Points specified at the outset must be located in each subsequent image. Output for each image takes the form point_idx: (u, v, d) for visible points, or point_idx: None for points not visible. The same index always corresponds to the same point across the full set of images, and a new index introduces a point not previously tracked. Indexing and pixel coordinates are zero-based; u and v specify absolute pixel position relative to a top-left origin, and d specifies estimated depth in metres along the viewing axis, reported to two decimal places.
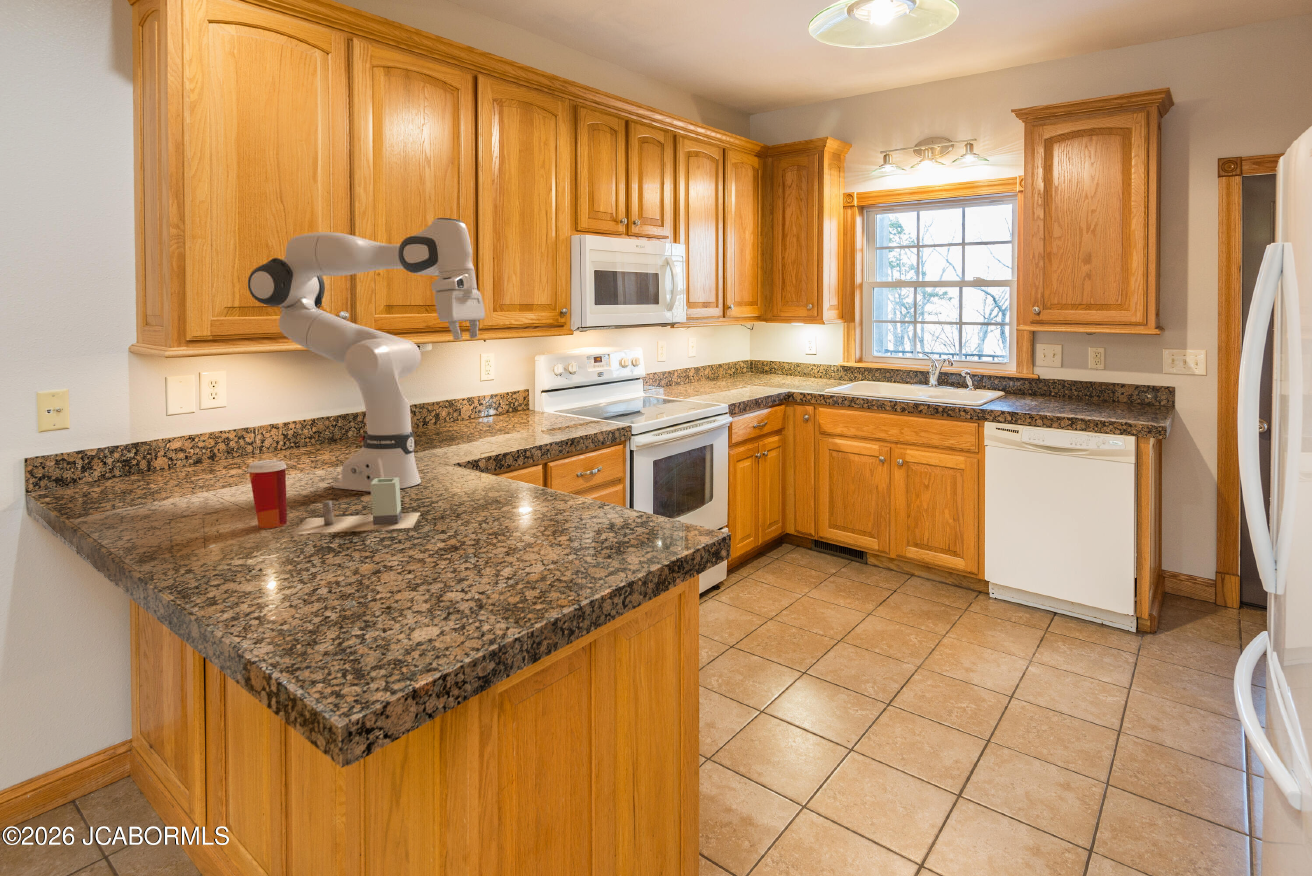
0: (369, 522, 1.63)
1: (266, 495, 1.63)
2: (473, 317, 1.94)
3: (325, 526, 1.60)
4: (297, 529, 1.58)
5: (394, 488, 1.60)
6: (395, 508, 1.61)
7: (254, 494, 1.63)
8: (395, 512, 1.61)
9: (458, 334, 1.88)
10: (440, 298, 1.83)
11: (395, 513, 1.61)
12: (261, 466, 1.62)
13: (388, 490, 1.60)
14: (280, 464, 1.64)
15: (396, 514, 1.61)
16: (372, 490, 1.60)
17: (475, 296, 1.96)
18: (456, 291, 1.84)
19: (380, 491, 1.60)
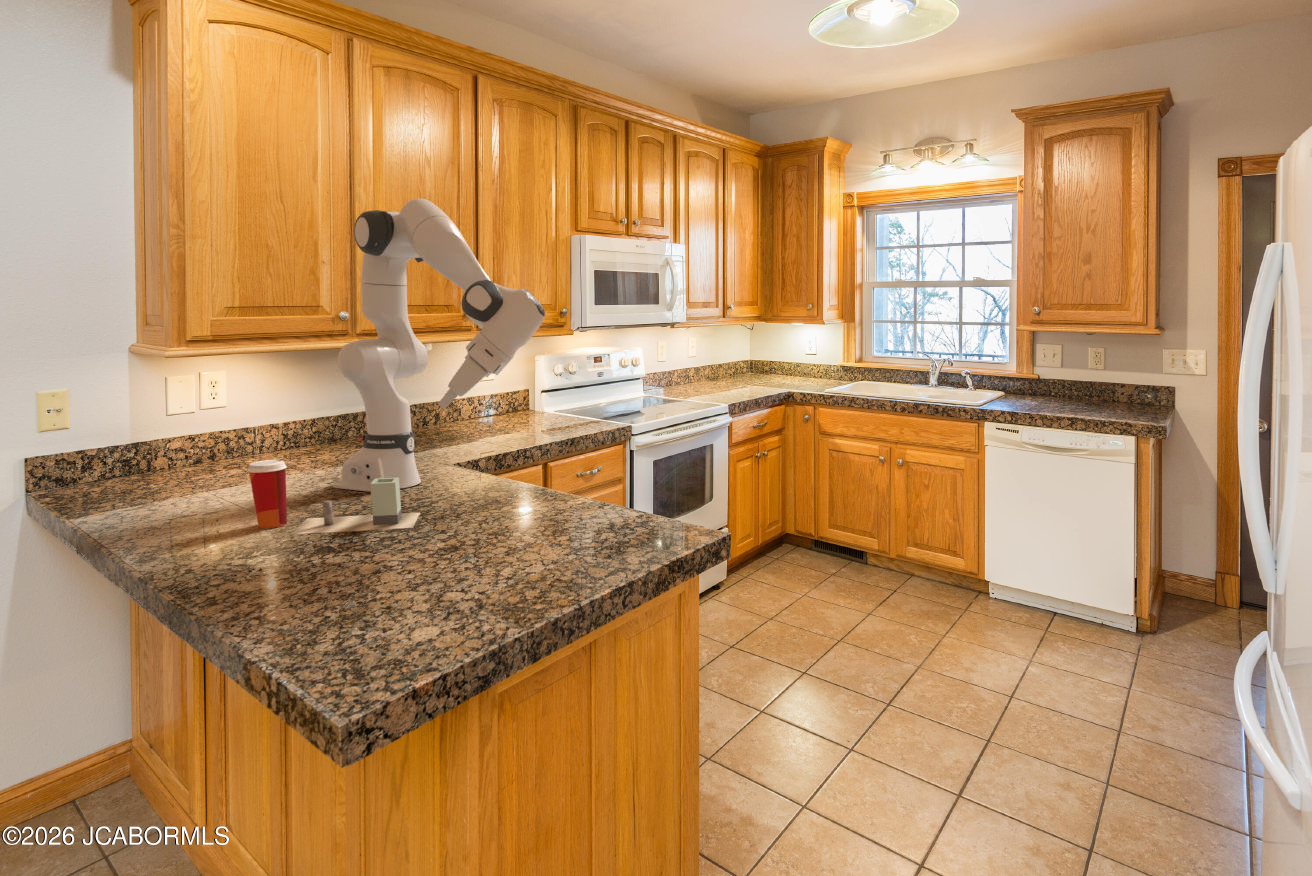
0: (369, 522, 1.63)
1: (266, 495, 1.63)
2: None
3: (325, 526, 1.60)
4: (297, 529, 1.58)
5: (394, 488, 1.60)
6: (395, 508, 1.61)
7: (254, 494, 1.63)
8: (395, 512, 1.61)
9: (447, 404, 1.57)
10: (469, 369, 1.53)
11: (395, 513, 1.61)
12: (261, 466, 1.62)
13: (388, 490, 1.60)
14: (280, 464, 1.64)
15: (396, 514, 1.61)
16: (372, 490, 1.60)
17: None
18: (487, 374, 1.56)
19: (380, 491, 1.60)
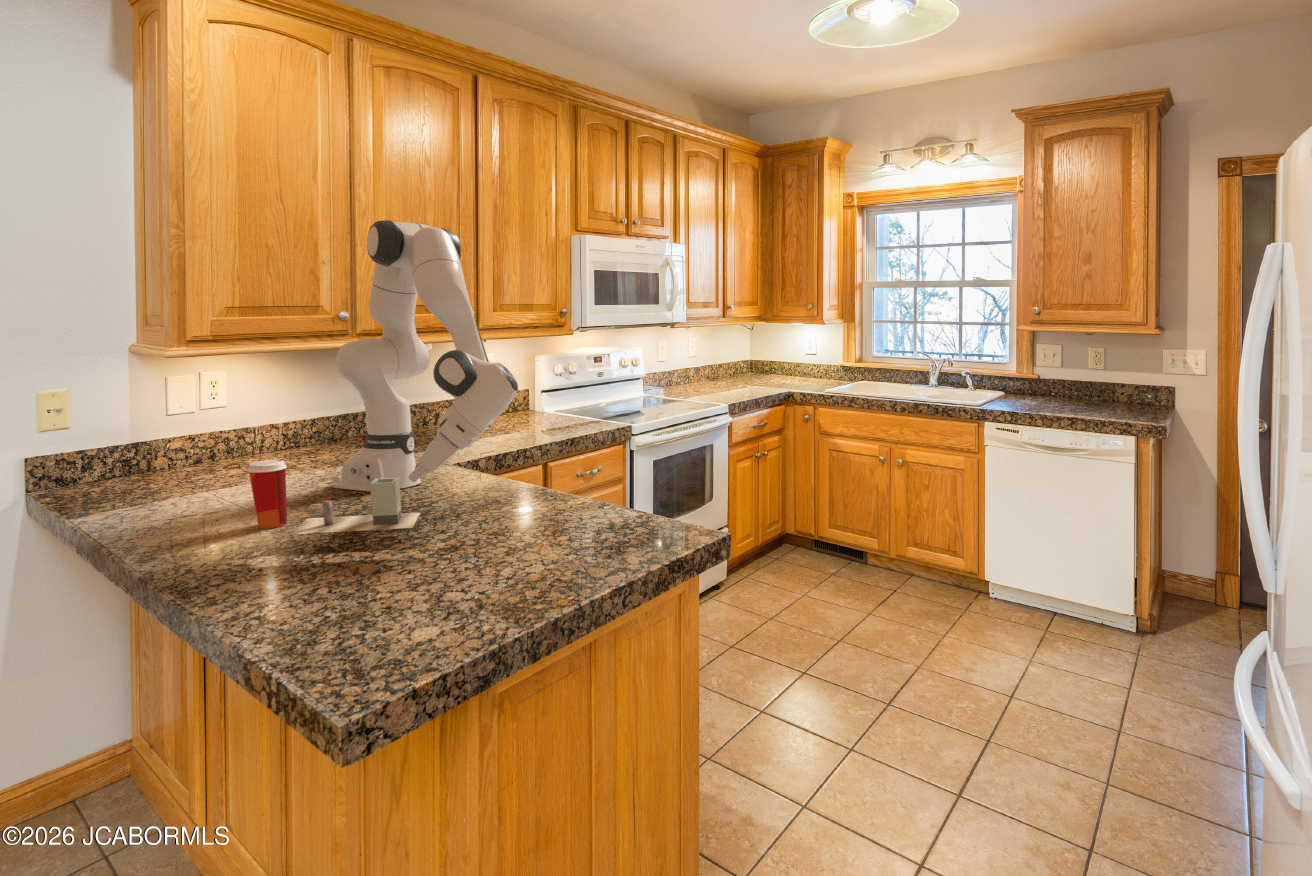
0: (369, 522, 1.63)
1: (266, 495, 1.63)
2: None
3: (325, 526, 1.60)
4: (297, 529, 1.58)
5: (394, 488, 1.60)
6: (395, 508, 1.61)
7: (254, 494, 1.63)
8: (395, 512, 1.61)
9: (417, 478, 1.58)
10: (440, 446, 1.54)
11: (395, 513, 1.61)
12: (261, 466, 1.62)
13: (388, 490, 1.60)
14: (280, 464, 1.64)
15: (396, 514, 1.61)
16: (372, 490, 1.60)
17: None
18: (457, 450, 1.57)
19: (380, 491, 1.60)
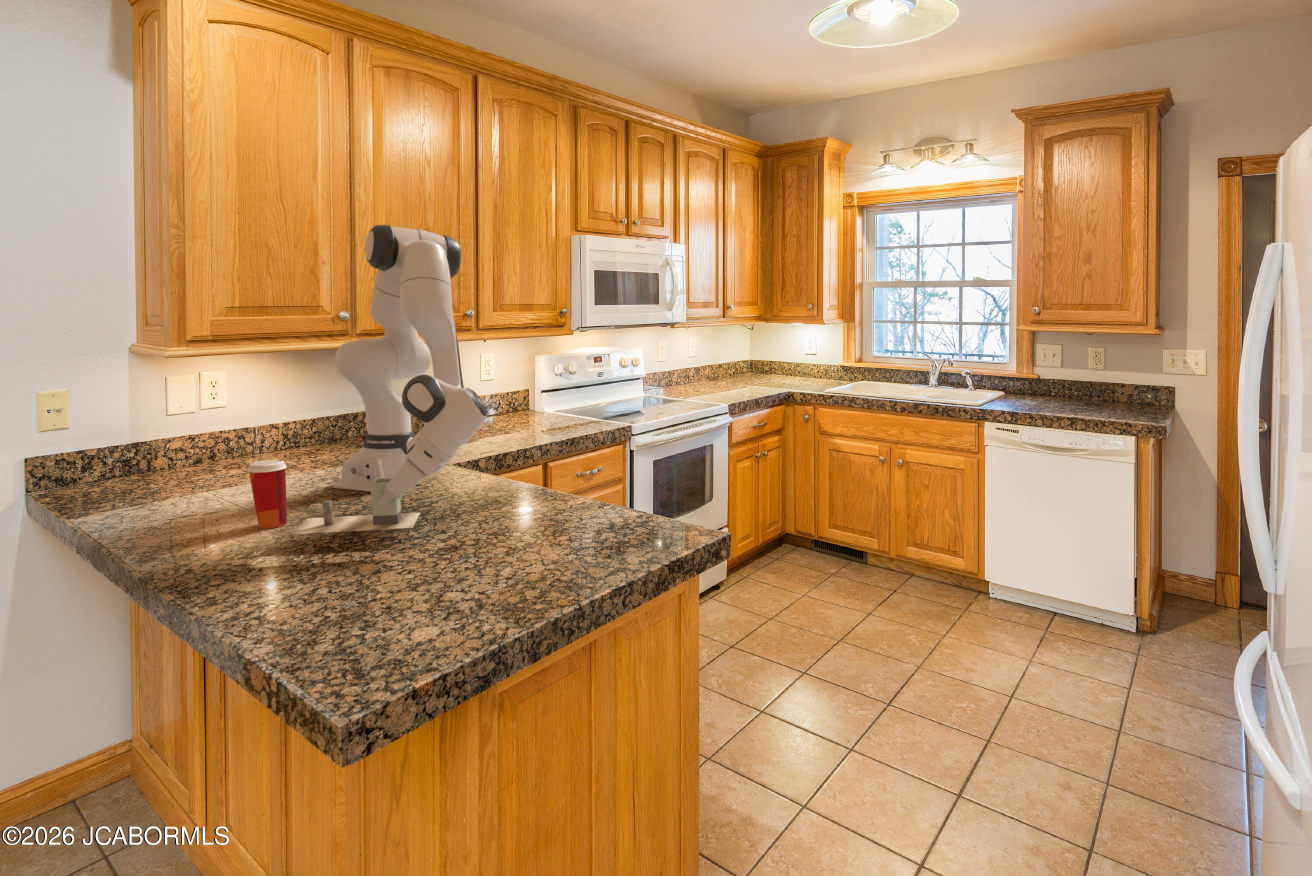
0: (369, 522, 1.63)
1: (266, 495, 1.63)
2: None
3: (325, 526, 1.60)
4: (297, 529, 1.58)
5: None
6: (395, 508, 1.61)
7: (254, 494, 1.63)
8: (395, 512, 1.61)
9: (386, 502, 1.59)
10: (407, 473, 1.53)
11: (395, 513, 1.61)
12: (261, 466, 1.62)
13: None
14: (280, 464, 1.64)
15: (396, 514, 1.61)
16: (372, 490, 1.60)
17: None
18: (425, 476, 1.56)
19: (380, 491, 1.60)
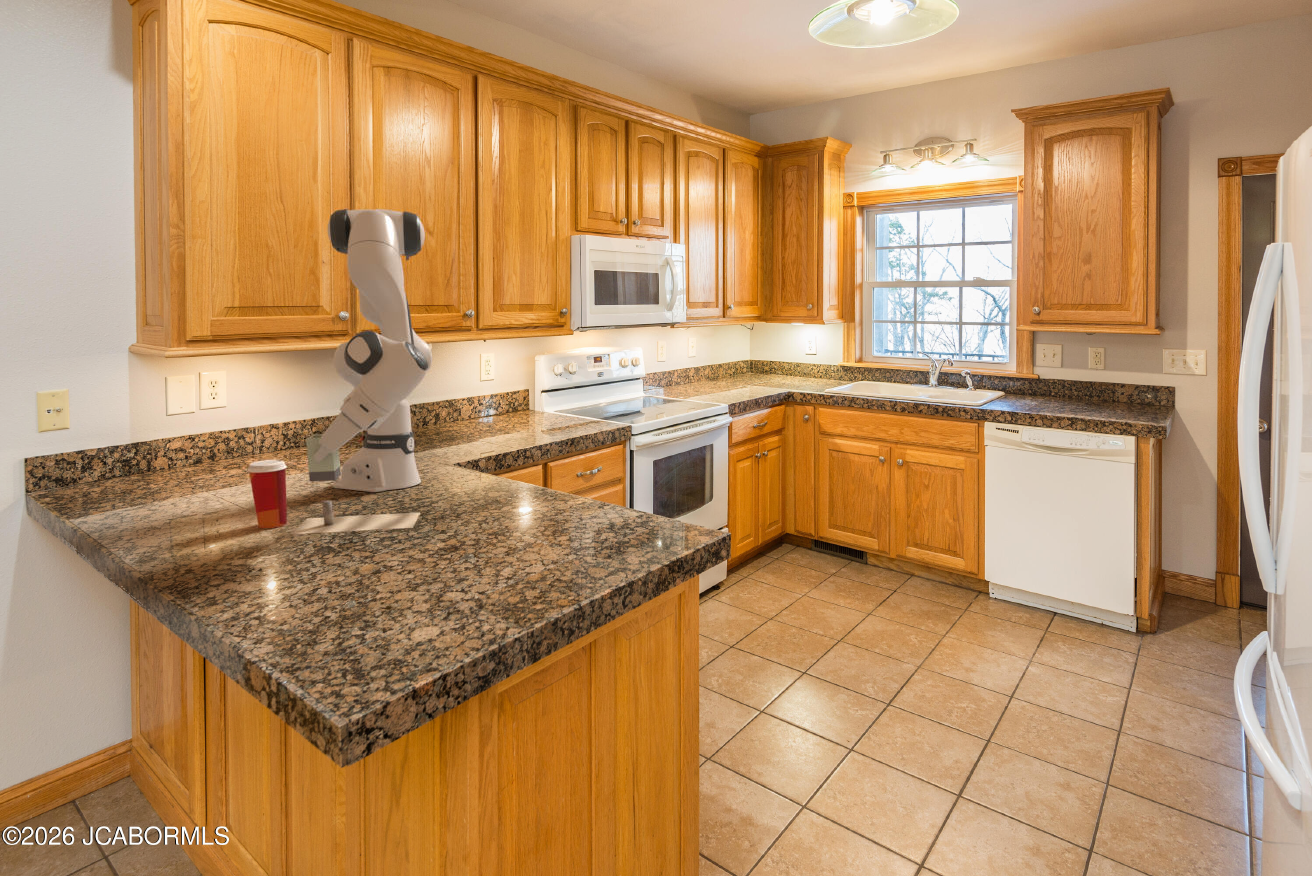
0: (369, 522, 1.63)
1: (266, 495, 1.63)
2: None
3: (325, 526, 1.60)
4: (297, 529, 1.58)
5: None
6: (332, 464, 1.57)
7: (254, 494, 1.63)
8: (332, 468, 1.58)
9: (322, 457, 1.55)
10: (340, 426, 1.50)
11: (332, 469, 1.58)
12: (261, 466, 1.62)
13: None
14: (280, 464, 1.64)
15: (333, 470, 1.58)
16: (308, 445, 1.56)
17: None
18: (361, 430, 1.53)
19: (316, 446, 1.56)
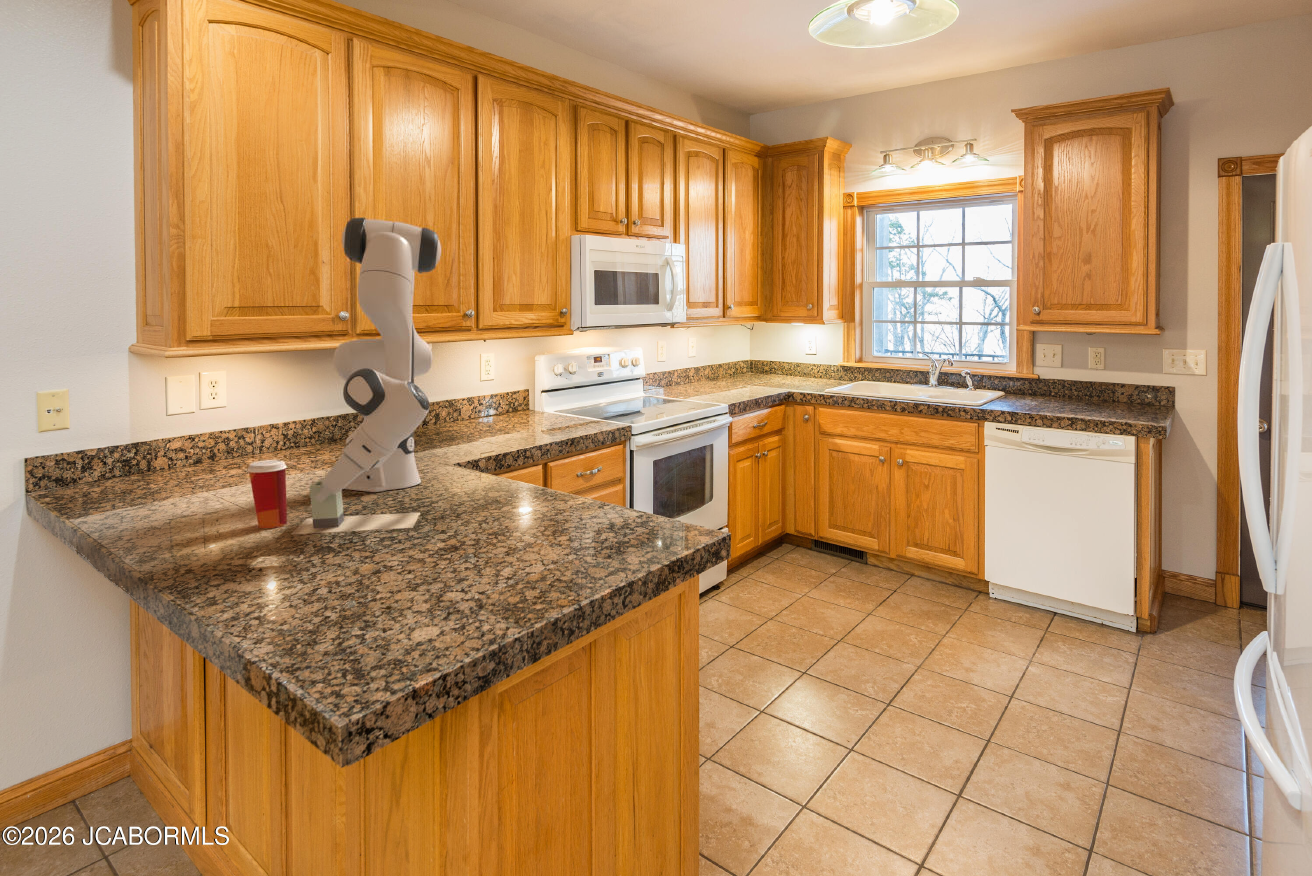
0: (369, 522, 1.63)
1: (266, 495, 1.63)
2: None
3: None
4: (297, 529, 1.58)
5: None
6: (335, 511, 1.59)
7: (254, 494, 1.63)
8: (335, 515, 1.59)
9: (324, 498, 1.56)
10: (343, 467, 1.51)
11: (335, 516, 1.59)
12: (261, 466, 1.62)
13: None
14: (280, 464, 1.64)
15: (336, 517, 1.59)
16: (311, 493, 1.58)
17: None
18: (363, 471, 1.54)
19: None
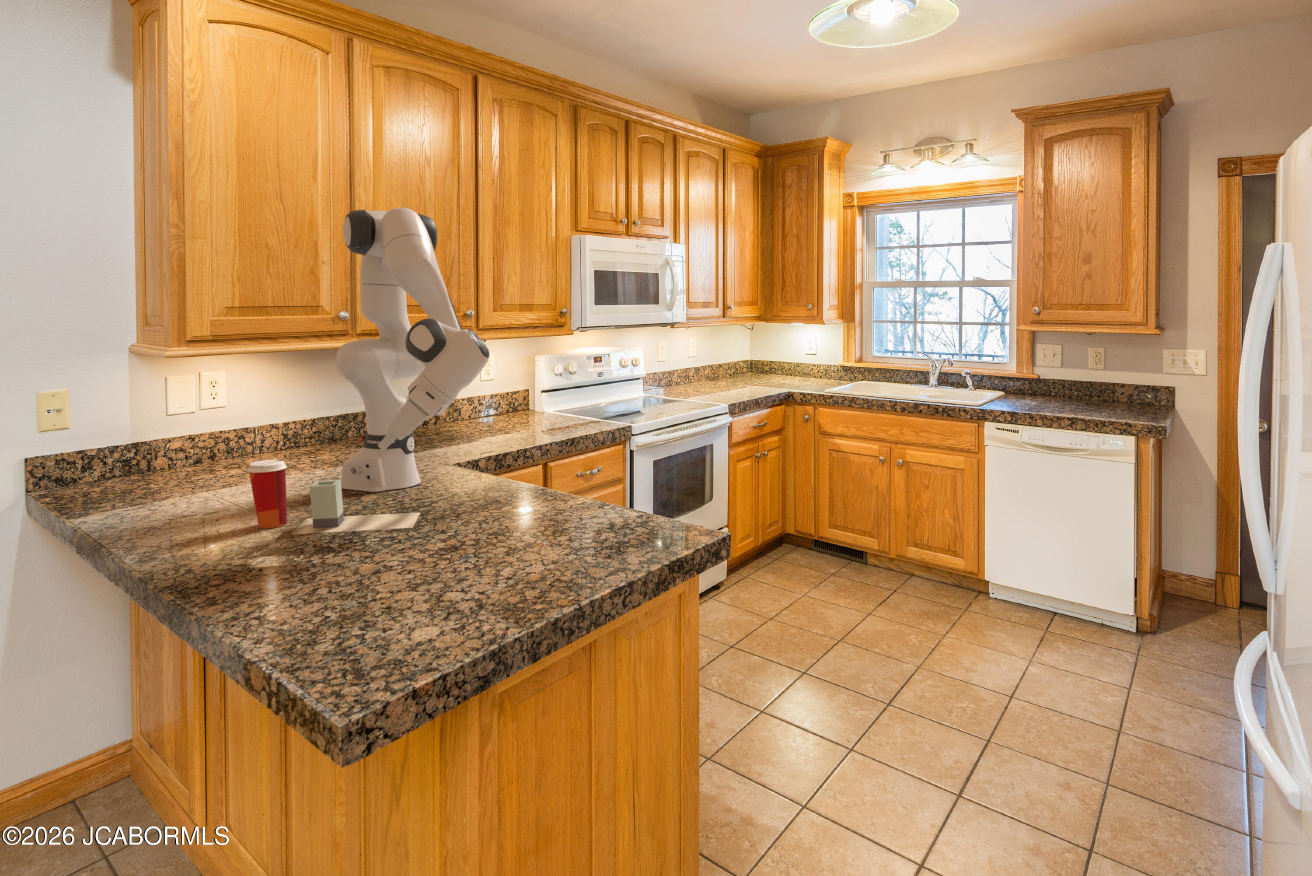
0: (369, 522, 1.63)
1: (266, 495, 1.63)
2: None
3: None
4: (297, 529, 1.58)
5: (334, 491, 1.58)
6: (335, 511, 1.59)
7: (254, 494, 1.63)
8: (335, 515, 1.59)
9: (387, 446, 1.56)
10: (409, 413, 1.52)
11: (335, 516, 1.59)
12: (261, 466, 1.62)
13: (328, 493, 1.58)
14: (280, 464, 1.64)
15: (336, 517, 1.59)
16: (311, 493, 1.58)
17: None
18: (428, 417, 1.55)
19: (320, 494, 1.58)
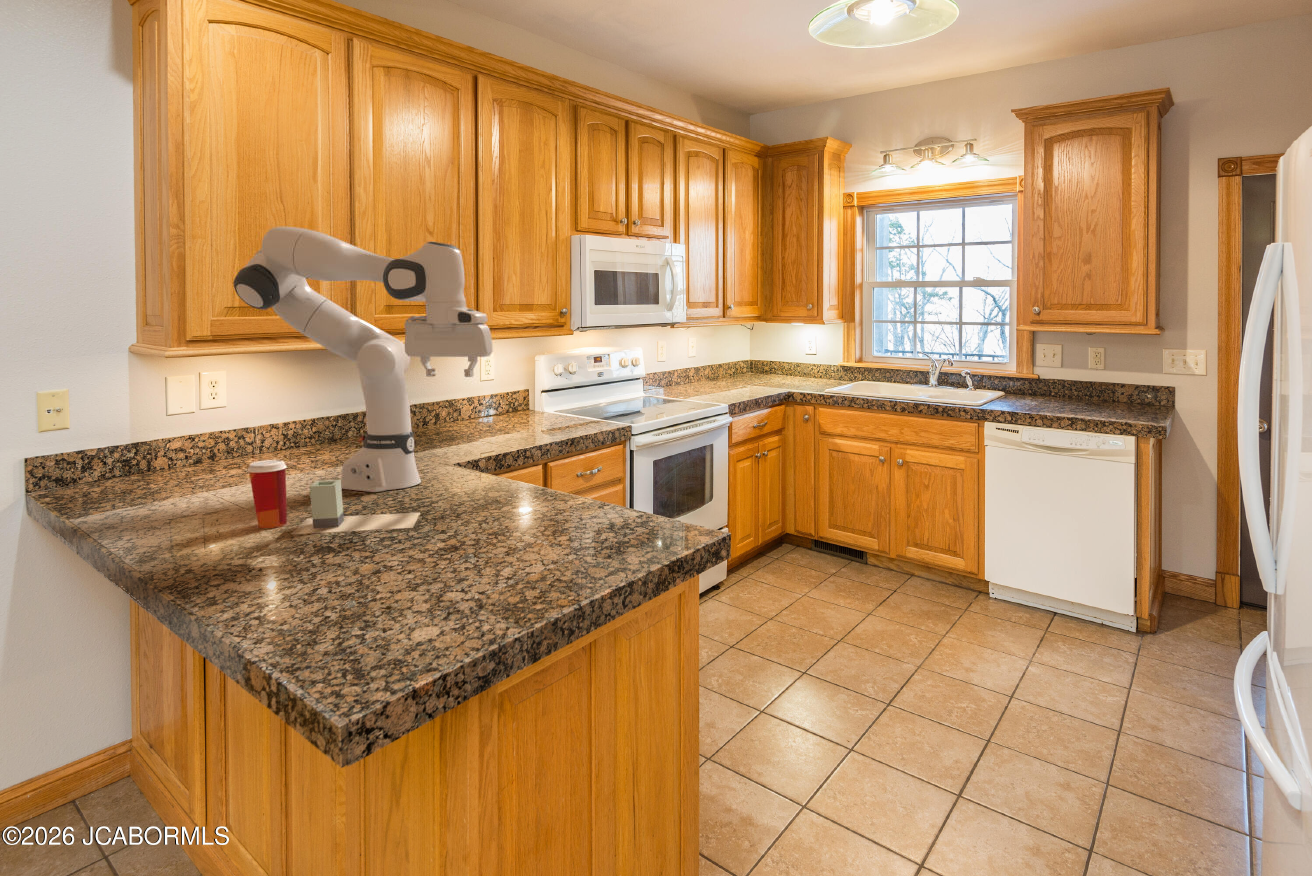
0: (369, 522, 1.63)
1: (266, 495, 1.63)
2: None
3: None
4: (297, 529, 1.58)
5: (334, 491, 1.58)
6: (335, 511, 1.59)
7: (254, 494, 1.63)
8: (335, 515, 1.59)
9: (472, 371, 1.74)
10: (485, 332, 1.70)
11: (335, 516, 1.59)
12: (261, 466, 1.62)
13: (328, 493, 1.58)
14: (280, 464, 1.64)
15: (336, 517, 1.59)
16: (311, 493, 1.58)
17: None
18: None
19: (320, 494, 1.58)
